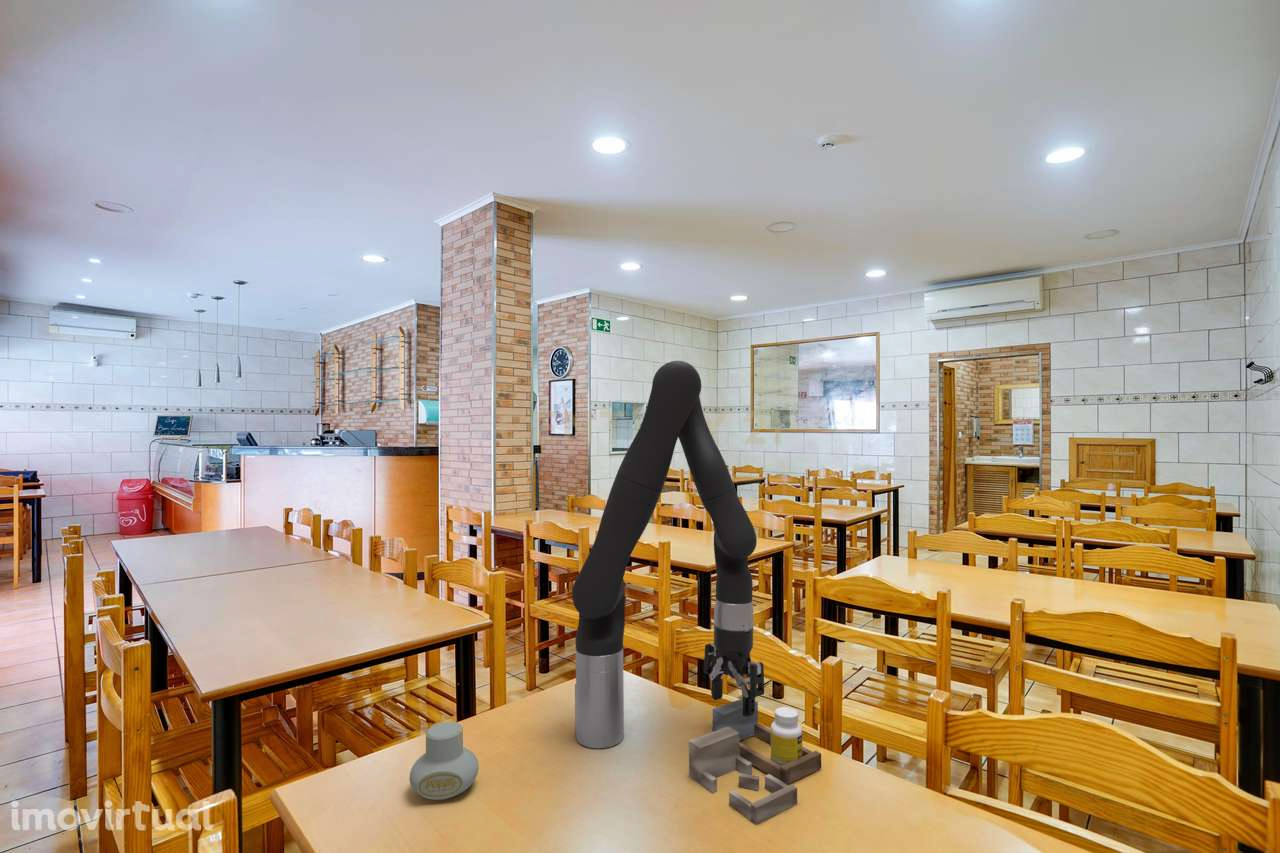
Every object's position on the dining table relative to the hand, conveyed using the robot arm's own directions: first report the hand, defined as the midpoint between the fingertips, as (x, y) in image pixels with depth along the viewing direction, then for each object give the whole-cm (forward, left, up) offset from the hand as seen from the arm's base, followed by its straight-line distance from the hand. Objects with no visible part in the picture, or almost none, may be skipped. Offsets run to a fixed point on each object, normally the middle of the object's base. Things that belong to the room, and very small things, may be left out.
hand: (732, 706), depth 119 cm
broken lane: (+14, -11, -6) cm, 18 cm away
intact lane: (+8, 0, -6) cm, 10 cm away
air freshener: (-15, -51, -6) cm, 53 cm away
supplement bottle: (+13, 0, -6) cm, 15 cm away
